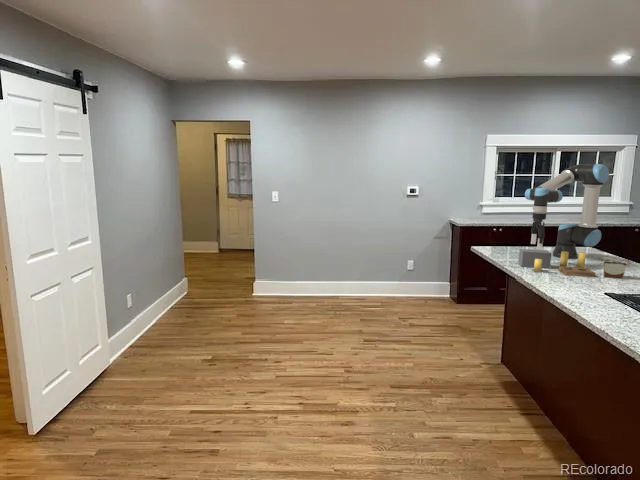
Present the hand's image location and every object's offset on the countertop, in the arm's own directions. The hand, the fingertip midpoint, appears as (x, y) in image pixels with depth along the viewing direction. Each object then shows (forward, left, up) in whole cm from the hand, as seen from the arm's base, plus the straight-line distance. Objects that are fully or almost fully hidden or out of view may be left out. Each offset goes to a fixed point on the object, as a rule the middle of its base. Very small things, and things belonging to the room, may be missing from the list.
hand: (536, 246), depth 267 cm
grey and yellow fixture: (+13, +2, -13) cm, 19 cm away
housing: (0, 0, -13) cm, 13 cm away
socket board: (+13, +20, -13) cm, 27 cm away
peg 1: (-2, +18, -13) cm, 22 cm away
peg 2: (-2, +28, -13) cm, 31 cm away
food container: (+16, +38, -13) cm, 43 cm away
